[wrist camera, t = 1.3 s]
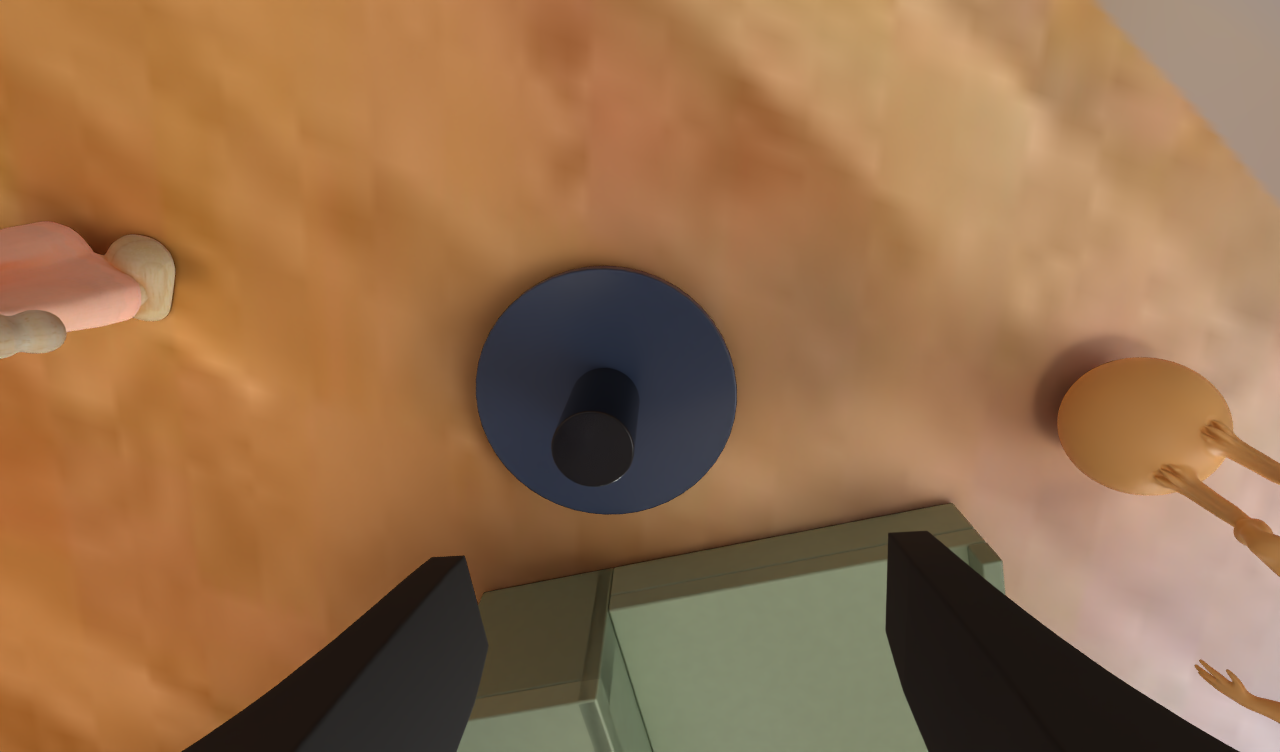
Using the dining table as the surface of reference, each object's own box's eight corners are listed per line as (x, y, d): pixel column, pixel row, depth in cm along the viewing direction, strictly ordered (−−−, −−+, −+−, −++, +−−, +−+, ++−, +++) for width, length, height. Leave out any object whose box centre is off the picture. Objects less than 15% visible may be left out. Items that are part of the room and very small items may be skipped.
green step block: (571, 823, 27) (546, 998, 21) (483, 591, 23) (424, 728, 18) (981, 763, 25) (1074, 938, 19) (952, 501, 22) (1056, 621, 16)
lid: (523, 527, 22) (491, 609, 18) (445, 300, 20) (386, 336, 16) (757, 479, 22) (779, 554, 17) (704, 236, 19) (716, 255, 15)
